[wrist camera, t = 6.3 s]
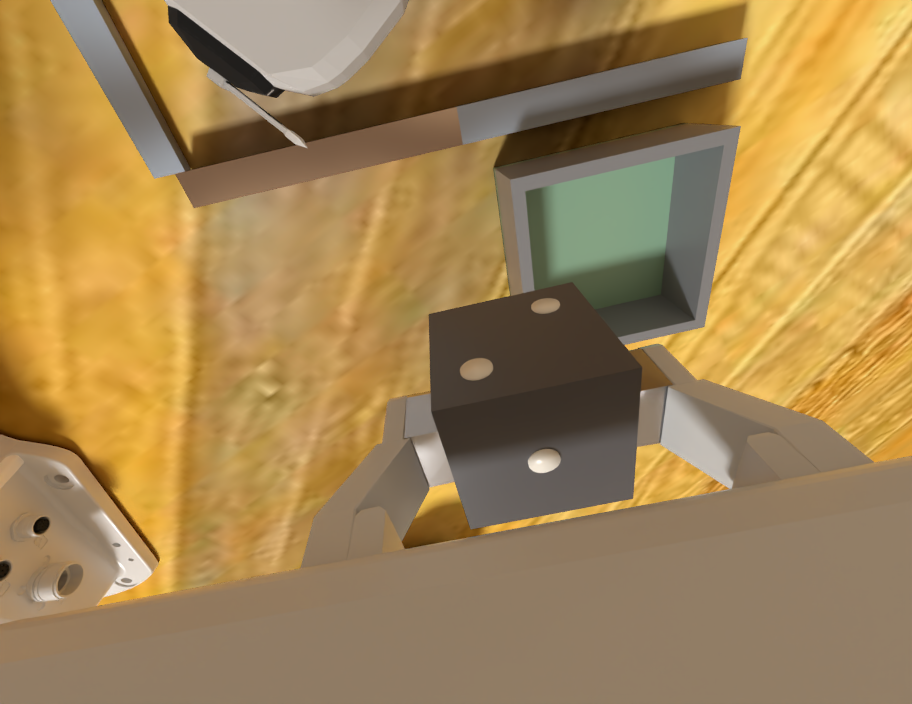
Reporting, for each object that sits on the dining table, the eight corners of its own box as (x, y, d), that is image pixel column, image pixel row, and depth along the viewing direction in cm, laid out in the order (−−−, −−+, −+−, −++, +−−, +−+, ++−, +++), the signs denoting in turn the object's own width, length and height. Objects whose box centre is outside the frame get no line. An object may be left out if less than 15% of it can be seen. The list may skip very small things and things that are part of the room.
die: (578, 392, 13) (635, 500, 9) (458, 417, 13) (470, 531, 9) (574, 279, 10) (646, 366, 7) (428, 312, 11) (430, 411, 7)
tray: (664, 297, 25) (704, 327, 22) (514, 331, 25) (530, 365, 22) (684, 123, 20) (740, 126, 16) (493, 167, 20) (510, 179, 17)
